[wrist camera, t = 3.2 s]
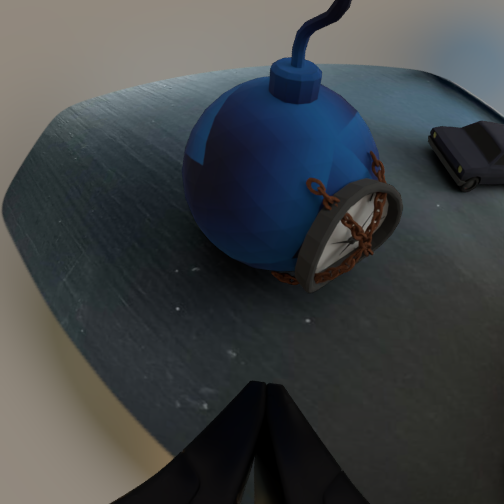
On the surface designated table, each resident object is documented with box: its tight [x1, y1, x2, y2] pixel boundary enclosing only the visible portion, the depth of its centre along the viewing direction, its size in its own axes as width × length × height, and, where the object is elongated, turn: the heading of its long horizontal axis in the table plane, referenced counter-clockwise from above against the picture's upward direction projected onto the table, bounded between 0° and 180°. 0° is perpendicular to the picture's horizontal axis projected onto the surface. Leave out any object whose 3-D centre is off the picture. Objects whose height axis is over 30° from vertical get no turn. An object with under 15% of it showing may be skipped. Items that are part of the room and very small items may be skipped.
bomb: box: [182, 0, 403, 293], centre depth 13 cm, size 10×11×15 cm
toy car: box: [428, 121, 504, 192], centre depth 23 cm, size 6×15×5 cm, turn 100°
